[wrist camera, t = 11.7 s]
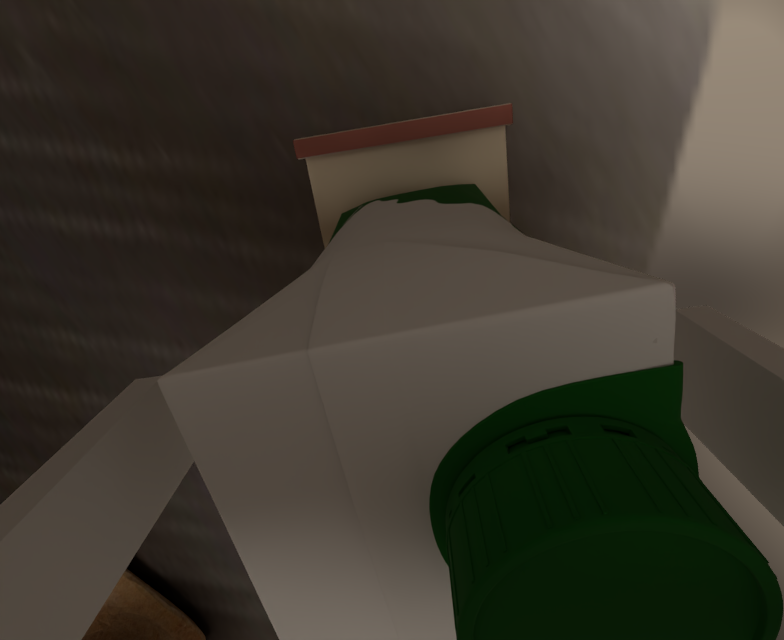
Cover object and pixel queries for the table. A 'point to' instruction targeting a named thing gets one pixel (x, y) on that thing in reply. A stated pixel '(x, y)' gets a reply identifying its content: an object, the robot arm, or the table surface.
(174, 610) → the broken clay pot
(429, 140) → the shelf board
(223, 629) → the table surface
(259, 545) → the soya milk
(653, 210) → the table surface
